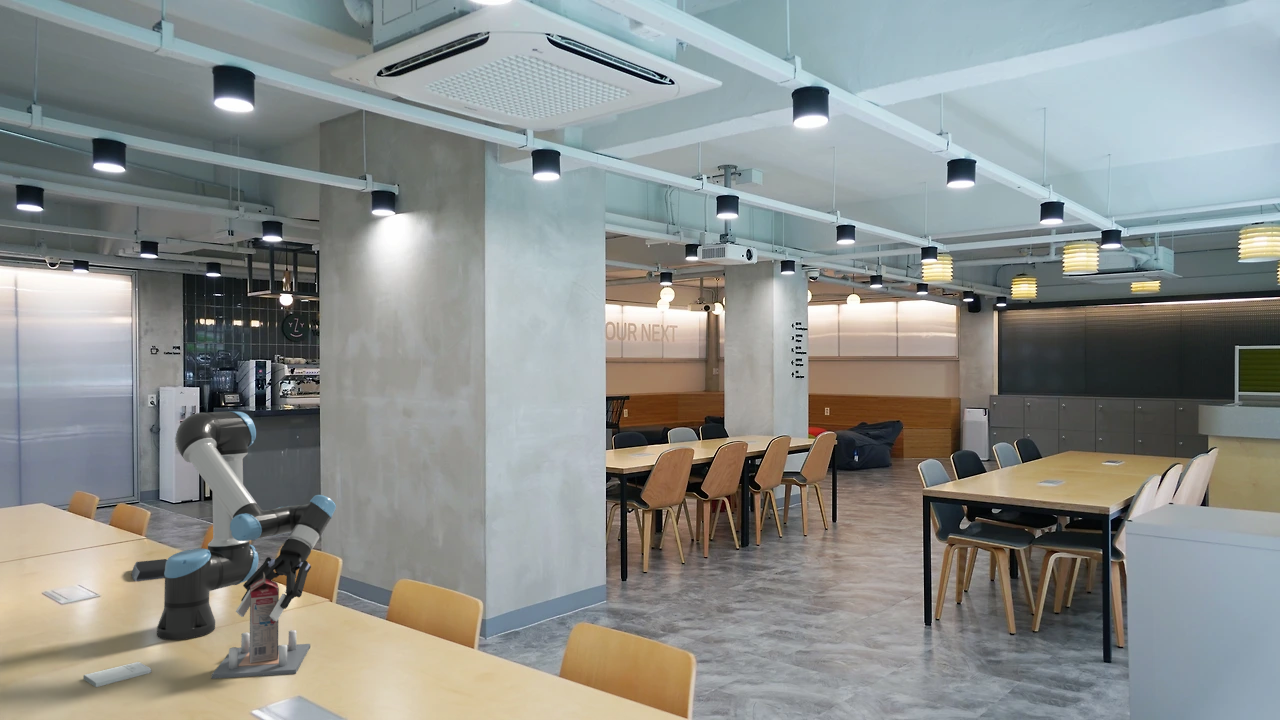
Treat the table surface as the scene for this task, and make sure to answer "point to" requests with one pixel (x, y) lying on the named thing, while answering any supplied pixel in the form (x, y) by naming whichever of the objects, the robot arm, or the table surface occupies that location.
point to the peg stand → (241, 666)
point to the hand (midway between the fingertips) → (256, 616)
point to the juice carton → (263, 621)
